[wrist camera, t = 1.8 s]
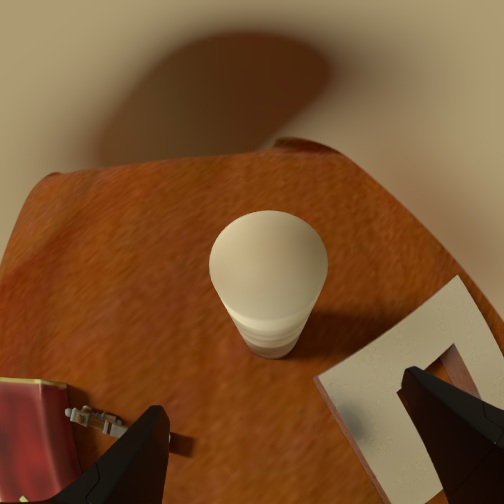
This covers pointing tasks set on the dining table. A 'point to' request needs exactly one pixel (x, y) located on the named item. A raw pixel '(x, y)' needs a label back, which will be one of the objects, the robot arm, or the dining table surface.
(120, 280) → the dining table surface
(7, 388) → the hardcover book
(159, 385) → the dining table surface
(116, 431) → the wooden post with brackets
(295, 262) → the ball
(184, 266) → the dining table surface
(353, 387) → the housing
